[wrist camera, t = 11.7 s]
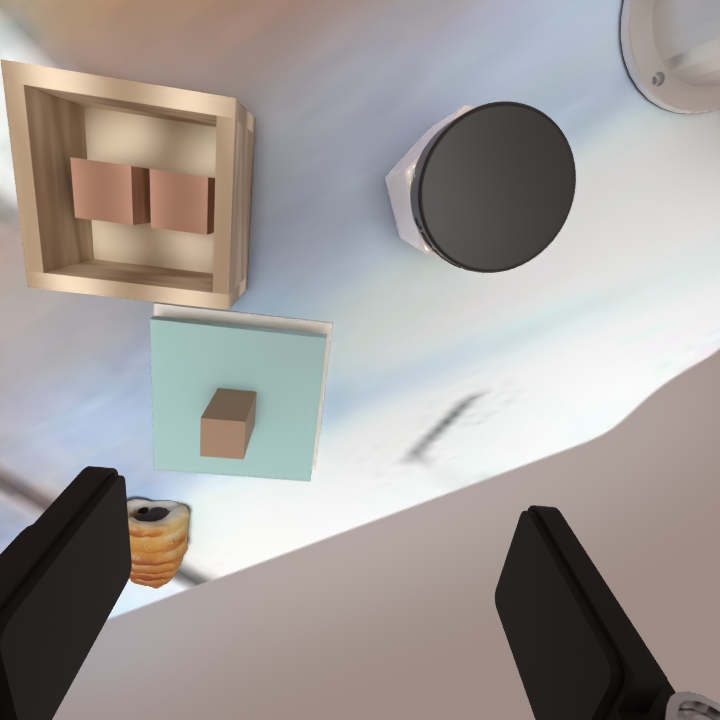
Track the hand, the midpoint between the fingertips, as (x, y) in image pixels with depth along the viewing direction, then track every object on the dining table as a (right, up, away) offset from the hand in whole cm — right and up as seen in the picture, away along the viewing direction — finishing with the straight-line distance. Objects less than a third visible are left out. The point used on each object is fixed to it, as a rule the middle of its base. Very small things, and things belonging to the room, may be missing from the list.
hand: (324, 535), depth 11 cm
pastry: (-19, -12, +32) cm, 39 cm away
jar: (+7, +17, +23) cm, 29 cm away
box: (-13, +16, +22) cm, 30 cm away
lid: (-9, +1, +27) cm, 29 cm away
